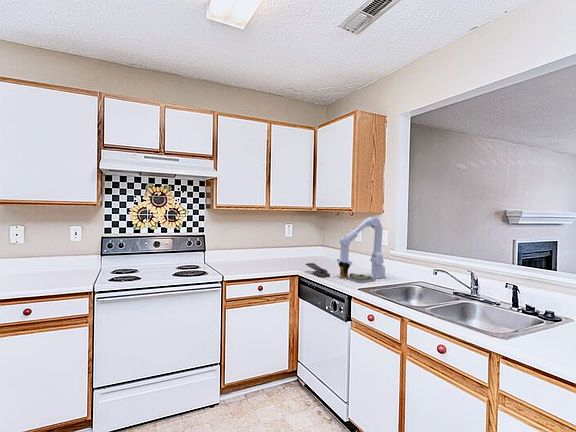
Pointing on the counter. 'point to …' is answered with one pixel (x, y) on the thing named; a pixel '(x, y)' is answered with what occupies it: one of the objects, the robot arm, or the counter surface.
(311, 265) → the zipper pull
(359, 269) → the counter surface
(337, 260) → the robot arm
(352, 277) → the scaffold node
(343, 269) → the wooden rectangular peg
